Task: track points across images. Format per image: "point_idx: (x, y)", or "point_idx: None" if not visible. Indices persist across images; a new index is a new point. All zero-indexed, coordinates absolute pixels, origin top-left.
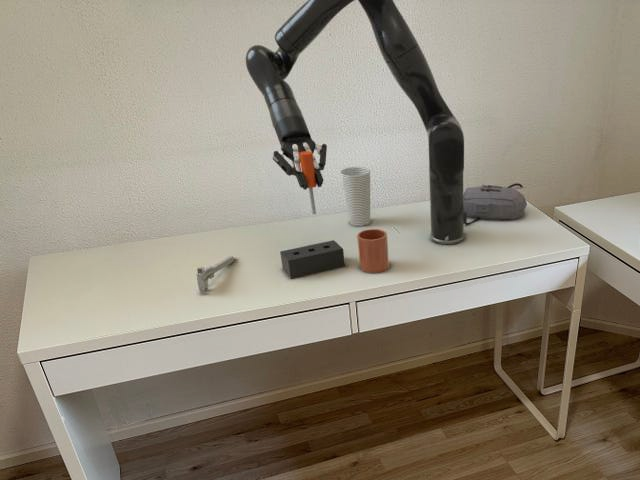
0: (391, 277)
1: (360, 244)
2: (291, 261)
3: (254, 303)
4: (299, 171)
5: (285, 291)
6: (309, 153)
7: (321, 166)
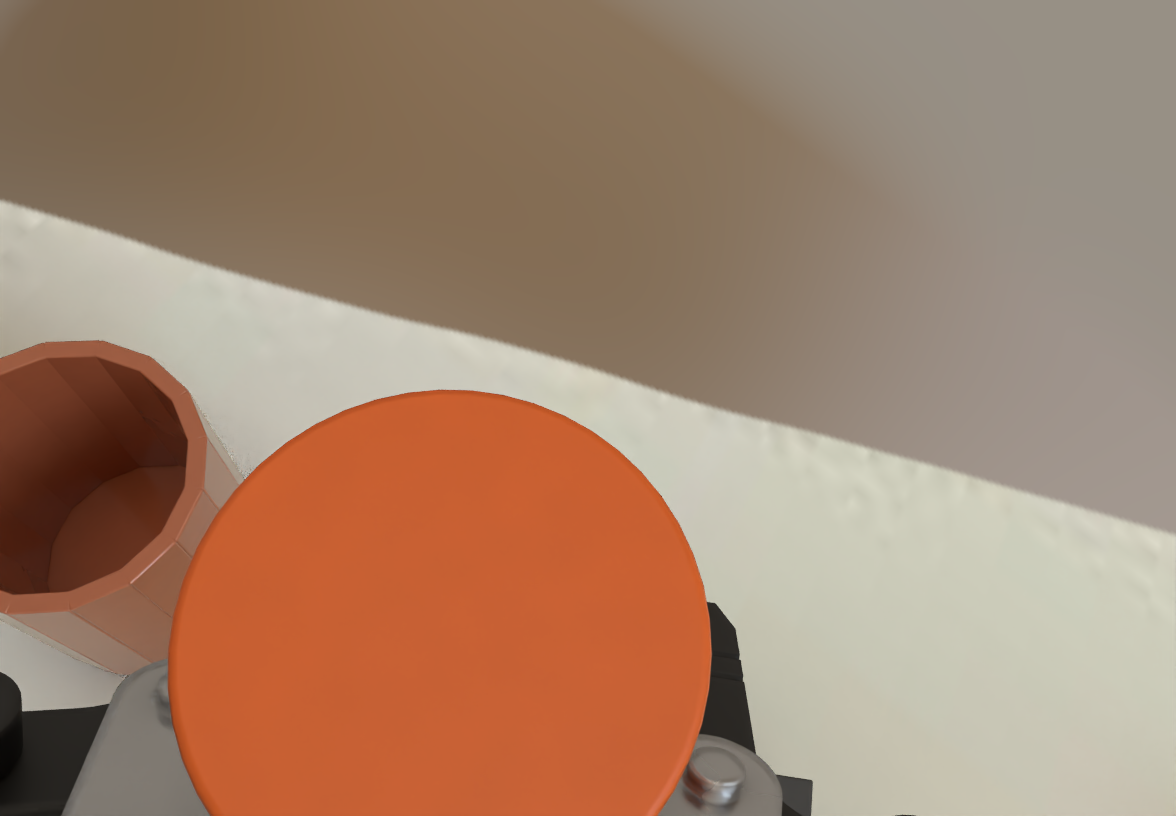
0: (191, 352)
1: (220, 485)
2: (781, 776)
3: (1107, 597)
4: (705, 738)
5: (878, 626)
6: (378, 457)
7: (40, 721)
